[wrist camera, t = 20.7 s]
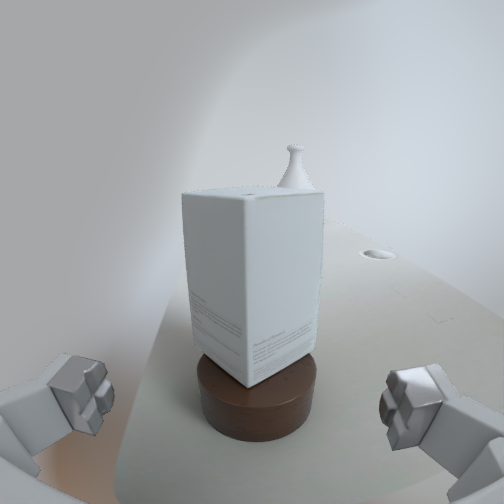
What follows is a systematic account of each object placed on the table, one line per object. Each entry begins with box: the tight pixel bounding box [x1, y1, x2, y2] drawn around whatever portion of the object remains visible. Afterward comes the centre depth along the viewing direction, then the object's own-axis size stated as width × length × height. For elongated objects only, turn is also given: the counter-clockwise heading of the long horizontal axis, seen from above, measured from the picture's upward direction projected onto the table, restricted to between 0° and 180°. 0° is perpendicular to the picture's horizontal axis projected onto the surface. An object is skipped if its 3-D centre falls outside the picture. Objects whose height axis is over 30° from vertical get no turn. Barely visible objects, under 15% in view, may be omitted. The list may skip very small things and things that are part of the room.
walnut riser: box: [197, 353, 316, 442], centre depth 22 cm, size 9×9×4 cm
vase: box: [277, 145, 315, 190], centre depth 91 cm, size 17×17×25 cm
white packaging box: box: [182, 186, 324, 388], centre depth 21 cm, size 7×7×13 cm
